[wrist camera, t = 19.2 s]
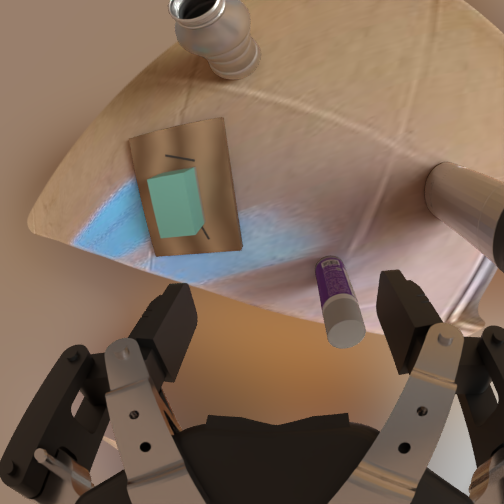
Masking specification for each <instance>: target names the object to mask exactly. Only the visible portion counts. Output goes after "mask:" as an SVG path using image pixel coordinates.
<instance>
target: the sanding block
mask: <svg viewBox="0 0 504 504" xmlns="http://www.w3.org/2000/svg"><path fill="white" fill-rule="evenodd" d="M147 182H148V187H149V191H150V196H151V200H152V205H153V209H154V213H155V218H156V222H157V226H158V230H159V234H160V238H170V237H180V236H190V235H196V234H197V232H198V231H199V230H200V228H201V227H202V226H203V225H204V223H205V222H206V221H205V215H204V210H203V205H202V199H201V194H200V188H199V183H198V177H197V171H196V167H190V168H184V169H179V170H173V171H168V172H163V173H160V174H158V175H156V176H154V177H152V178H149V179H147Z"/></svg>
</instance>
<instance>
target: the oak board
mask: <svg viewBox="0 0 504 504" xmlns="http://www.w3.org/2000/svg"><path fill="white" fill-rule="evenodd" d="M129 143H130V148H131V154H132V159H133V164H134V169H135V174H136V179H137V184H138V188H139V193H140V197H141V201H142V206H143V210H144V214H145V218H146V222H147V226H148V229H149V233H150V237H151V241H152V244H153V248H154V251H155V255H156V257H158V256H171V255H185V254H198V253H212V252H226V251H239V250H242V247H243V244H242V238H241V231H240V225H239V218H238V212H237V205H236V199H235V192H234V185H233V179H232V172H231V165H230V159H229V152H228V145H227V138H226V131H225V124H224V118H222V117H220V118H214V119H209V120H203V121H198V122H193V123H189V124H184V125H180V126H175V127H171V128H167V129H163V130H159V131H155V132H151V133H148V134H144V135H140V136H137V137H133V138H130V139H129ZM190 167H196V171H197V177H198V183H199V188H200V194H201V199H202V205H203V210H204V215H205V221H206V222H205V223H204V225H203V226H202V227H201V228H200V230H199V231H198V232H197V234H196V235H190V236H180V237H170V238H160V234H159V230H158V226H157V222H156V218H155V213H154V209H153V205H152V200H151V196H150V191H149V187H148V182H147V179H149V178H152V177H154V176H156V175H158V174H160V173H163V172H168V171H173V170H179V169H184V168H190Z"/></svg>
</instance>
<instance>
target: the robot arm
mask: <svg viewBox="0 0 504 504" xmlns="http://www.w3.org/2000/svg"><path fill="white" fill-rule="evenodd" d="M425 200H426V204H427V206H428V209H429V210H430V212H431V213H432V214H433V215H434V216H436V217H437V218H438V219H440V220H441V221H443V222H444V223H445V224H446V225H448V226H449V227H450V228H452V229H453V230H454V231H456V232H457V233H458V234H459V235H461V236H462V237H463V238H464V239H466V240H467V241H468V242H469V243H471V244H472V245H473V246H474V247H475V248H477V249H478V250H479V251H480V252H481V253H482V254H484V255H485V256H486V257H487V258H488V259H489V260H490V261H492V262H493V263H494V264H495V265H496V266H497V267H498V268H499V269H500V270H501V271H502V272H503V273H504V182H502V181H499V180H497V179H494V178H492V177H489V176H487V175H484V174H482V173H479V172H476V171H474V170H471V169H468V168H466V167H463V166H460V165H457V164H454V163H450V162H445V163H441V164H439V165H437V166H436V167H435V168H434V169H433V170H432V171H431V173H430V174H429V176H428V178H427V181H426V184H425ZM376 311H377V316H378V319H379V321H380V324H381V326H382V329H383V332H384V334H385V337H386V340H387V342H388V345H389V348H390V350H391V353H392V356H393V359H394V362H395V365H396V368H397V370H398V374H399V375H401V374H406V373H409V375H410V376H409V379H408V381H407V383H406V385H405V387H404V390H403V392H402V393H401V395H400V397H399V399H398V401H397V403H396V405H395V407H394V409H393V411H392V412H391V414H390V416H389V418H388V420H387V422H386V423H385V425H384V427H383V428H382V430H381V432H380V431H378V430H376V429H374V428H372V427H370V426H366V425H363V424H359V423H354V422H349V417H348V413H343V414H334V415H323V416H312V417H309V418H305V419H302V420H298V421H294V422H290V423H286V424H281V425H271V424H267V423H262V422H258V421H254V420H250V419H246V418H242V417H228V416H214V415H208V418H207V422H206V424H202V425H198V426H193V427H190V428H187V429H185V430H182V428H181V427H180V425H179V423H178V421H177V419H176V417H175V415H174V413H173V410H172V408H171V406H170V404H169V402H168V400H167V397H166V396H165V393H164V391H163V389H162V384H163V382H164V381H165V382H175V379H176V377H177V374H178V372H179V369H180V366H181V363H182V361H183V359H184V356H185V354H186V351H187V349H188V346H189V343H190V341H191V339H192V336H193V334H194V331H195V329H196V326H197V312H196V308H195V305H194V301H193V298H192V294H191V291H190V288H189V285H188V284H187V283H177V284H169V285H168V287H167V288H166V290H165V292H164V293H163V295H159V296H158V297H157V298H156V299H154V300H153V301H152V302H151V303H150V304H149V306H148V307H147V309H146V311H145V312H144V313H143V315H142V318H140V319H139V321H138V323H137V324H136V326H135V327H134V329H133V330H132V332H131V333H130V335H129V337H128V338H122V339H119V340H116V341H115V342H113V343H112V344H110V345H109V346H108V347H107V349H106V351H105V353H98V354H90V353H89V351H88V349H87V348H86V347H85V346H84V345H74V346H71V347H69V348H68V349H66V350H65V351H64V352H63V353H62V355H61V356H60V358H59V359H58V361H57V362H56V364H55V365H54V367H53V368H52V370H51V371H50V373H49V374H48V376H47V377H46V379H45V380H44V382H43V384H42V385H41V387H40V389H39V390H38V392H37V393H36V395H35V397H34V398H33V400H32V402H31V403H30V405H29V407H28V408H27V410H26V412H25V414H24V415H23V417H22V419H21V421H20V423H19V425H18V426H17V429H16V430H15V432H14V434H13V436H12V438H11V440H10V442H9V444H8V446H7V448H6V450H5V452H4V454H3V456H2V459H1V461H0V477H1V479H2V481H3V482H4V483H5V484H6V485H7V486H9V487H10V488H12V489H13V490H15V491H17V492H18V493H20V494H21V495H22V496H24V497H25V498H27V499H29V500H30V501H32V502H34V503H36V504H504V329H503V328H501V327H499V326H489V327H487V328H485V330H484V331H483V333H482V336H481V338H480V337H479V338H478V337H463V334H462V332H461V331H460V330H459V329H458V328H457V327H455V326H454V325H451V324H448V323H443V321H442V320H441V318H440V317H439V315H438V313H437V312H436V310H435V309H434V307H433V306H432V304H431V302H429V299H428V298H427V296H425V293H424V292H423V291H422V289H421V288H420V286H418V285H417V284H416V283H414V282H413V281H411V280H406V279H405V277H404V276H403V274H402V273H401V271H400V270H388V271H382V272H381V274H380V279H379V287H378V295H377V302H376ZM491 382H493V384H494V386H495V388H496V391H497V393H498V397H499V402H498V403H497V400H496V398H495V395H494V393H493V390H492V388H491V386H490V383H491ZM79 390H80V392H81V393H82V394H83V395H84V399H83V401H82V403H81V405H80V407H79V409H78V411H77V413H76V415H75V417H73V416H72V413H71V406H72V403H73V401H74V399H75V397H76V396H77V394H78V392H79ZM455 394H457V396H458V399H459V402H460V404H461V408H462V411H463V414H464V418H465V421H466V425H467V428H468V432H469V435H470V439H471V443H472V447H473V451H474V456H475V460H476V465H477V469H476V471H475V472H474V474H473V477H472V480H471V484H470V486H469V493H470V495H469V497H468V496H467V495H466V494H464V493H462V492H461V491H460V490H458V489H457V488H455V487H454V486H452V485H451V484H450V483H448V482H447V481H445V480H444V479H442V478H441V477H440V476H438V475H437V474H435V473H434V472H433V471H431V470H430V469H429V468H427V465H428V463H429V461H430V459H431V457H432V454H433V452H434V450H435V448H436V445H437V443H438V441H439V438H440V436H441V433H442V431H443V428H444V426H445V423H446V420H447V417H448V414H449V411H450V408H451V405H452V402H453V399H454V396H455ZM109 421H111V424H112V429H113V433H114V436H115V440H116V444H117V447H118V451H119V454H120V457H121V460H122V463H123V466H124V470H122V471H121V472H119V473H117V474H116V475H114V476H112V477H111V478H109V479H107V480H105V481H104V482H102V483H100V484H99V485H97V486H94V484H93V483H92V482H91V476H90V470H91V467H92V464H93V461H94V459H95V456H96V454H97V451H98V448H99V446H100V443H101V441H102V438H103V436H104V433H105V431H106V428H107V426H108V423H109Z"/></svg>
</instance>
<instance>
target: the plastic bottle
mask: <svg viewBox="0 0 504 504" xmlns="http://www.w3.org/2000/svg"><path fill="white" fill-rule="evenodd" d="M168 11H169V14H170V15H171V17H172V18H174V19H175V21H176V24H175V32H176V36H177V40H178V42H179V43H180V45H181V46H182V47H183V48H184V49H185V50H187V51H189V52H191V53H193V54H195V55H198V56H201V57H204V58H206V59H207V60H208V63H209V65H210V67H211V69H212V70H213V72H214V73H215V74H217V75H218V76H220V77H222V78H225V79H235V80H236V79H241V78H244V77H247V76H248V75H250V74H251V73H253V72H254V71H255V69H256V68H257V66H258V65H259V62H260V59H261V50H260V47H259V45H258V44H257V42H256V41H255V40H254V39H253V38H252V37H251V36H250V25H251V21H250V13H249V11H248V9H247V7H246V6H245V5H244V4H243V3H242V2H241V1H240V0H170V1H169V4H168Z"/></svg>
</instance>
